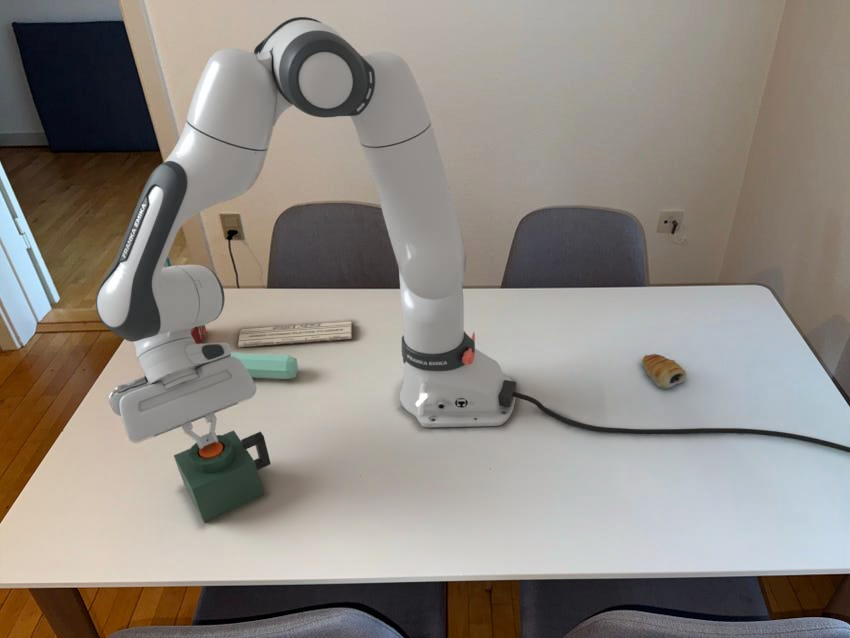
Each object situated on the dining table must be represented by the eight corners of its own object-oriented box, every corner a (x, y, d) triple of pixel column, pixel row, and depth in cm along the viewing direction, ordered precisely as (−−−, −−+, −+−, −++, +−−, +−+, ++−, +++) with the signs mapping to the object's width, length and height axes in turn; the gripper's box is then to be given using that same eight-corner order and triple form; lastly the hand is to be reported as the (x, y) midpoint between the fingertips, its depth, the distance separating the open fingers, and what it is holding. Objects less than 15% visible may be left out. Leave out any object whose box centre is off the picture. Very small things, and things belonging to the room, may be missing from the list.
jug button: (220, 447, 115) (217, 437, 114) (228, 460, 113) (226, 450, 111) (198, 456, 113) (195, 446, 112) (206, 469, 111) (203, 460, 110)
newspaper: (239, 349, 150) (237, 342, 148) (243, 330, 155) (242, 323, 154) (351, 341, 152) (350, 334, 151) (351, 322, 158) (351, 315, 157)
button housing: (243, 463, 123) (231, 421, 117) (263, 495, 117) (252, 452, 111) (185, 489, 118) (170, 446, 112) (204, 523, 113) (188, 480, 107)
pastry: (633, 366, 146) (635, 351, 143) (658, 357, 148) (661, 342, 146) (662, 392, 139) (666, 377, 137) (689, 382, 142) (692, 367, 139)
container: (296, 347, 140) (172, 341, 140) (291, 373, 137) (164, 367, 137) (303, 362, 145) (182, 356, 146) (298, 387, 142) (175, 382, 143)
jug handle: (267, 459, 121) (260, 431, 117) (270, 464, 120) (263, 435, 116) (248, 467, 119) (240, 439, 115) (251, 472, 118) (243, 444, 114)
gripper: (103, 387, 104) (141, 472, 104) (237, 339, 114) (272, 417, 113) (105, 394, 110) (141, 475, 109) (233, 348, 119) (266, 423, 119)
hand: (209, 445), depth 111 cm, fingers closed, pressing on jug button
